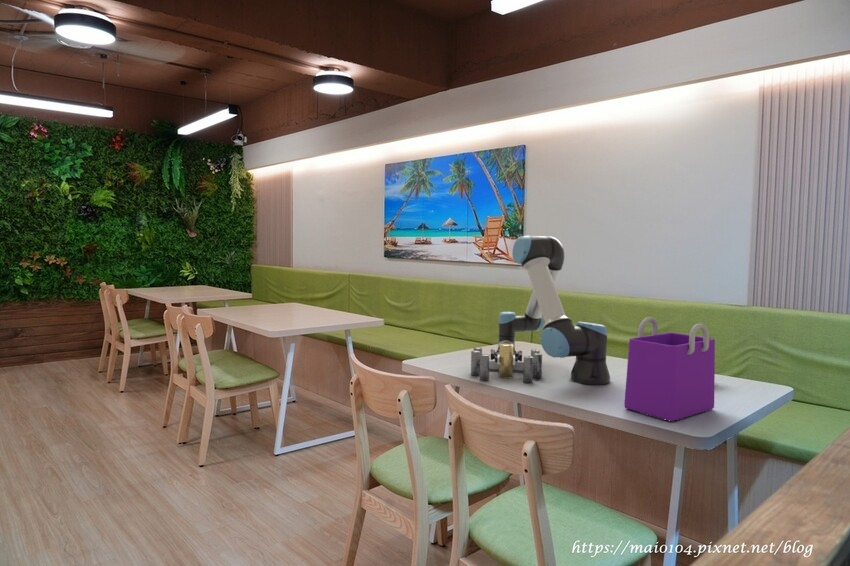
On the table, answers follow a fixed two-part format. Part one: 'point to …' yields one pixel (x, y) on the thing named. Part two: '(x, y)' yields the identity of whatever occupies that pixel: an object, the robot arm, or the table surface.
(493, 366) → the mat
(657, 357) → the shopping bag
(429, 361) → the table surface
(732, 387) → the table surface
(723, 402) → the table surface
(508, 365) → the brass canister
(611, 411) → the table surface
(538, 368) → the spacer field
